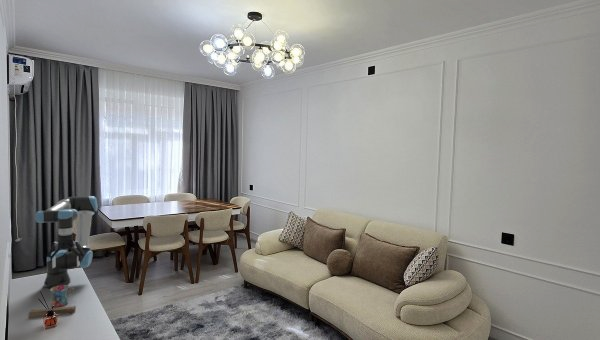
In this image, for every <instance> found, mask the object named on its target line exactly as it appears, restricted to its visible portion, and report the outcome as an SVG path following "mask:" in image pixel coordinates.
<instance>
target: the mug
mask: <svg viewBox="0 0 600 340" xmlns="http://www.w3.org/2000/svg"><path fill="white" fill-rule="evenodd" d="M69 290H71V287H70V286H69V284H67V285H59V286H55V287H53V288H49V291H50V292H51V296H52V302H51V305H50V306H51V307H53V306H52V305H54V307H53V308H58V307H64V306H65V305H67V304H68V303H69V300H68V299H69V297H70V296H72V294H73V293H74V291H75V288H74V287H72V292H71V293H70V294H68V295H67V292H68V291H69Z"/></svg>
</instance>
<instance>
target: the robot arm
mask: <svg viewBox="0 0 600 340" xmlns="http://www.w3.org/2000/svg"><path fill="white" fill-rule="evenodd" d="M98 208H99V206H98V199H97V197H96V196H94V195H93V196H92V195H87V196H86V195H85V196H82V195H81V196H75V195H74V196H68V197H65V198H63V199H60V200H59V201H57V202H56V203H55V205H53V206H51V207H48V209H45V210H39V211H36V212H35V215H34V217H35V222H36V223H38V224H39V223H41V224H44V223H46V224H47V223H57V225H58V226H57V230H58V231H57V232H58V233H57V234H58V241H54V242H52V244H51V248H50V250H49V251H48V253H47V254H46V277H45V280H44V282H43V287H44V288H46V289H51V288H53V287H55V286H59V285H69V284H70V283H71V277H70V274H69V272H68V270H72V269H83V268H88V267H89V266H90V265H91V264H92V261H93V257H94V256H93V253H94V252H93V250H91V247H90V246H89V245H90V243H89V242H90V235H91V227H92V217H93V215H95V212H97V211H99V209H98ZM76 220H77V224H76V232H75V233H76V234H75V240H74V234H73V233H74V225H73V224H74V221H76ZM57 246H58V248H56V247H57ZM55 249H56V250H55ZM68 249H70V250H71V251H68Z"/></svg>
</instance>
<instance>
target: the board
mask: <svg viewBox="0 0 600 340" xmlns="http://www.w3.org/2000/svg"><path fill="white" fill-rule="evenodd" d="M52 308H53V311H54V312H55V313H56V314H61V315H71V314H74V313H76V309H77V308H76V305H72V306H59V307H48V308H41V309H40V308H37V309H31V310H30V311H29V312H28V314H29V315H28V316H29V318H36V317H37V318H38V317H39V318H40V317H46V316H45V315H46V314H47V312H48V311H51V310H52Z"/></svg>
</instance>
